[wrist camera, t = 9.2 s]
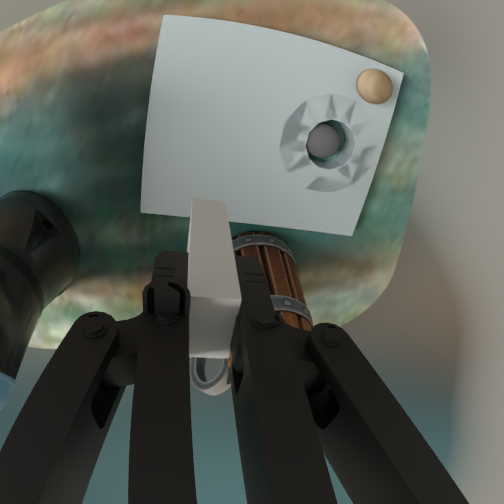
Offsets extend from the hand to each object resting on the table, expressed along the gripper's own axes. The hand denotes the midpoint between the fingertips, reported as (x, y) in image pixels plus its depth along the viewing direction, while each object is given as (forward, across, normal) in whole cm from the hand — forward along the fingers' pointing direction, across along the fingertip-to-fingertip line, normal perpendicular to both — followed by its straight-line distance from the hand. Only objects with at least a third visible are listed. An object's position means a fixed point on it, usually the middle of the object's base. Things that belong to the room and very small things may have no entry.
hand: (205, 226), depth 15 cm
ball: (+17, +12, +2) cm, 21 cm away
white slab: (+19, +6, +2) cm, 20 cm away
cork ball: (+15, +14, +9) cm, 22 cm away
